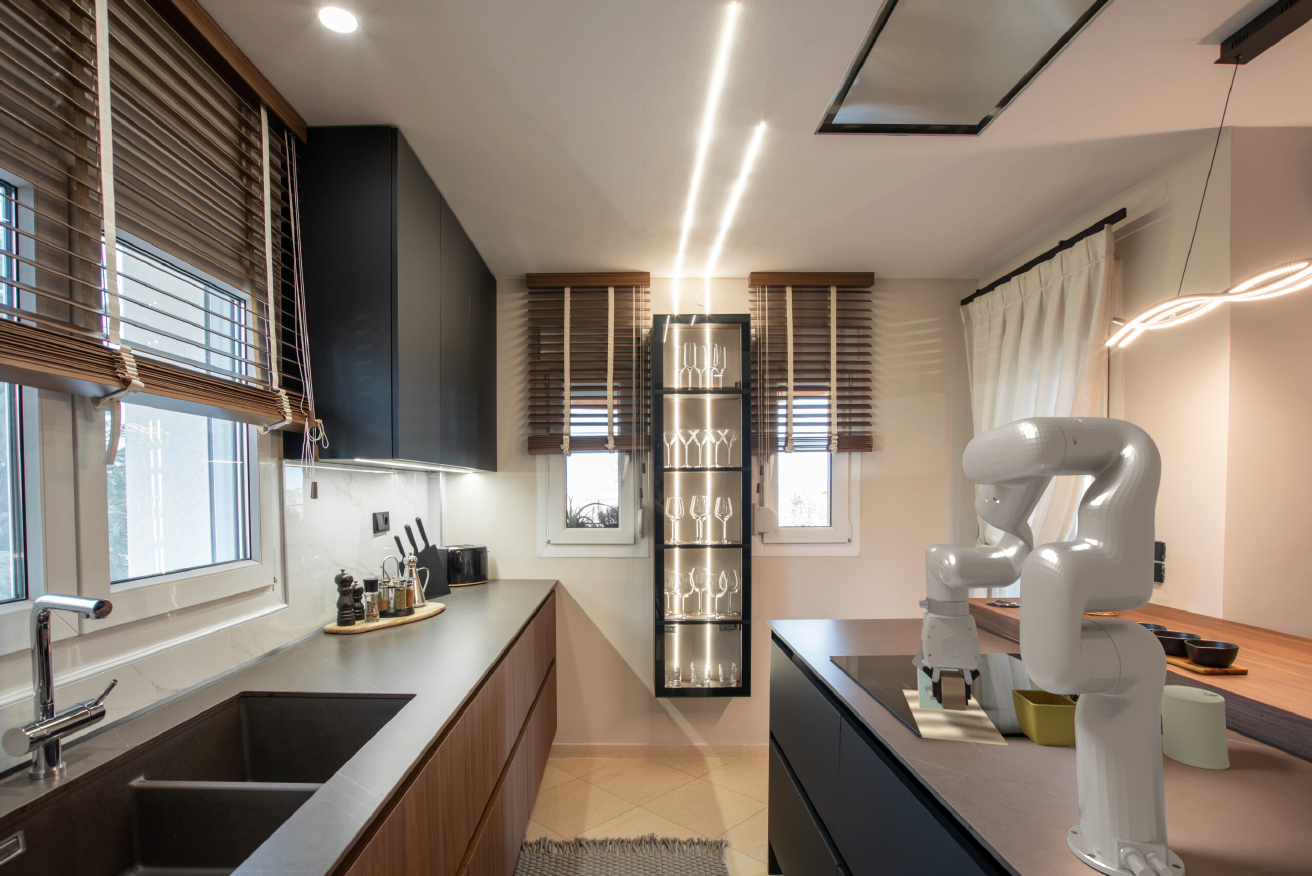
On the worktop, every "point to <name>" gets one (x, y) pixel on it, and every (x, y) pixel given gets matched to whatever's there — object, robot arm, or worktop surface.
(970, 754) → the worktop surface
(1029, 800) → the worktop surface
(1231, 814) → the worktop surface
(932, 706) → the tile
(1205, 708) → the can
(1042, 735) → the flower pot
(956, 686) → the block on grey plate
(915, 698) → the board
